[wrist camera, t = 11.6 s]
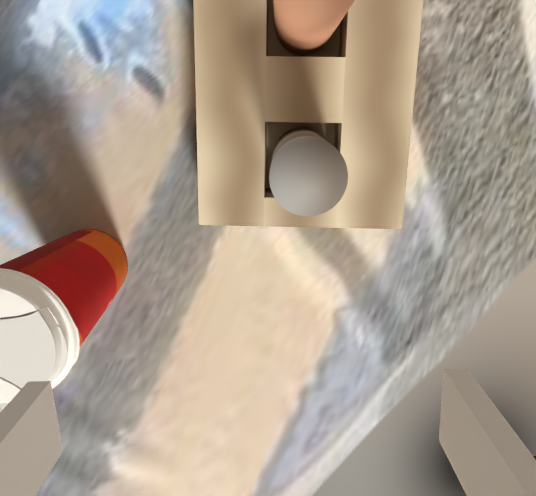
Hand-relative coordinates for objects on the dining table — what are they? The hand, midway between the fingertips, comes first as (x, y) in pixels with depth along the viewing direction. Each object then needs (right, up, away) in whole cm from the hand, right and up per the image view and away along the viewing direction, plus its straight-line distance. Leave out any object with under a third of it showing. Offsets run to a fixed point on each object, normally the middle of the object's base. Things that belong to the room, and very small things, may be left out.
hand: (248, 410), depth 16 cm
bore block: (+3, +17, +21) cm, 27 cm away
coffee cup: (-14, +4, +25) cm, 29 cm away
